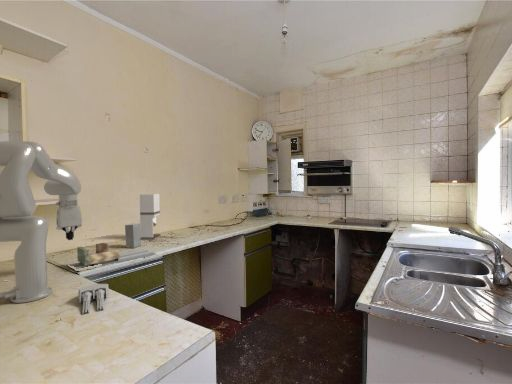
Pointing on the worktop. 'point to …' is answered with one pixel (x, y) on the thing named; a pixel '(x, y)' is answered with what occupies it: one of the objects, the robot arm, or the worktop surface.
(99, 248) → the walnut block
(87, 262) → the multicoloured piece
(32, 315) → the worktop surface
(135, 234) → the skincare box
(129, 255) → the rail track
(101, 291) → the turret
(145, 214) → the white square column
